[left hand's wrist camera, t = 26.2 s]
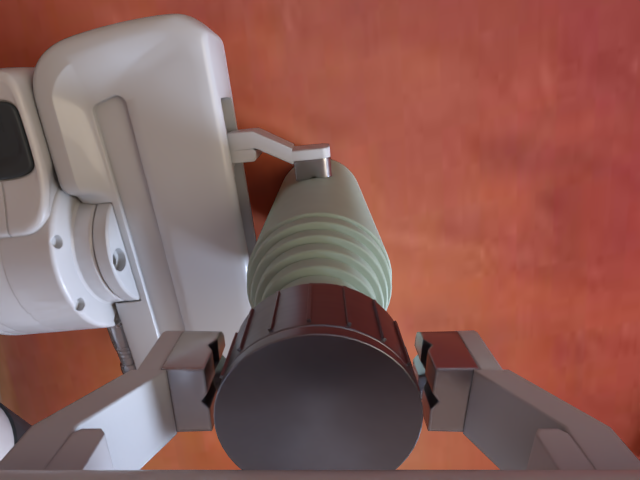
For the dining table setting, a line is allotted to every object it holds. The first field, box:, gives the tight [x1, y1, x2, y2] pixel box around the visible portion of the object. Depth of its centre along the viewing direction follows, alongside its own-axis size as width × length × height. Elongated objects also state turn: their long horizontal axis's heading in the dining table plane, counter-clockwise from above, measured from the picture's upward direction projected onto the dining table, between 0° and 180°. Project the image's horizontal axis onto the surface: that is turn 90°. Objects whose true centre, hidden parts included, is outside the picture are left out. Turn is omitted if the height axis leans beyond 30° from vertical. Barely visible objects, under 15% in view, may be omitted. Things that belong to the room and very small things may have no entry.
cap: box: [214, 283, 423, 470], centre depth 9 cm, size 4×4×2 cm
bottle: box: [247, 160, 392, 310], centre depth 17 cm, size 5×5×18 cm
